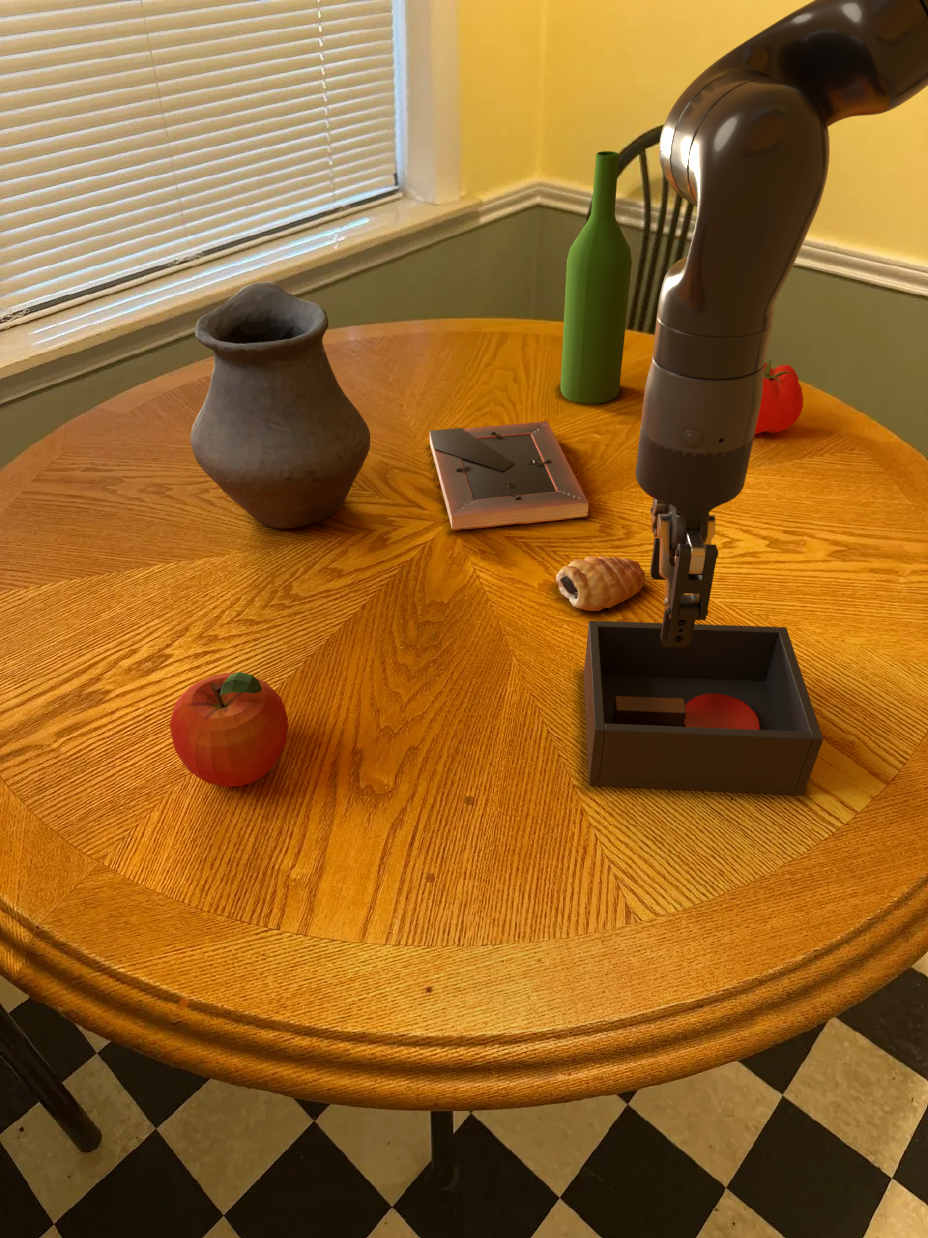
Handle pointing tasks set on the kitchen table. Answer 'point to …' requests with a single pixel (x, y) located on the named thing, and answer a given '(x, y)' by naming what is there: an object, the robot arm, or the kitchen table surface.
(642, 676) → the bin
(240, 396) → the grey clay vase
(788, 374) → the tomato
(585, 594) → the pastry
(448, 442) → the picture frame
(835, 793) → the kitchen table surface
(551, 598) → the kitchen table surface
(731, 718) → the paddle
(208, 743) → the fruit
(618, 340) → the wine bottle
